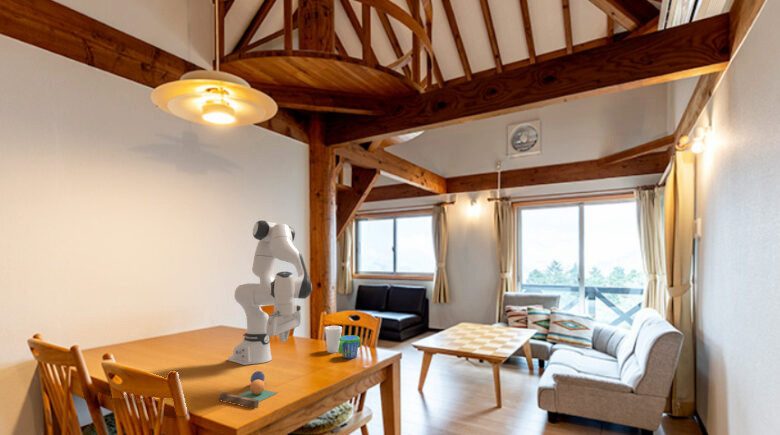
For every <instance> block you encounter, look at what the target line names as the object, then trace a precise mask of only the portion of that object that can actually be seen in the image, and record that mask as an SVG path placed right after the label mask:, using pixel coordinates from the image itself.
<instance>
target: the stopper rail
mask: <svg viewBox="0 0 780 435" xmlns="http://www.w3.org/2000/svg"><path fill="white" fill-rule="evenodd" d="M219 400H222V401H221V402H223V401H226V402H225V403H228V402H231V403H230V404H232V403H236V404H235V405H237V404H240V405H239V406H241V405H243V406H242V407H246V406H247V408H250V407H252V408H251V409H254V408H256V409H258V408H259V402H258V400H256V399H251V398H246V397H242V396H238V394H237V395H236V394H231V393H226V392H220V393H218V401H219ZM257 407H258V408H257Z"/></svg>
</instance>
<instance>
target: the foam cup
mask: <svg viewBox="0 0 780 435" xmlns="http://www.w3.org/2000/svg"><path fill="white" fill-rule="evenodd" d="M324 332H325V341H326V350H327V353H330V354H332V353H333V354H335V353H336V354H337V353H339V352H338V349H339V344H340V337H342V332H343V327H342V326H340V325H330V326H325V327H324Z"/></svg>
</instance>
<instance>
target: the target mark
mask: <svg viewBox="0 0 780 435" xmlns="http://www.w3.org/2000/svg"><path fill="white" fill-rule="evenodd" d="M276 394H278V392H277V391H270V390H265V389H264V391H263V392H262V393H261V394H259V395H254V394H252V393H251V391H250V389H248V390H247V391H245V392H242V393H240V394H237V396H242V397H246V398H251V399H256V400H258V403H260V402H263V401H265V400H266V399H268V398H271V397H272V396H275V395H276Z"/></svg>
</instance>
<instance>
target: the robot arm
mask: <svg viewBox="0 0 780 435" xmlns="http://www.w3.org/2000/svg"><path fill="white" fill-rule="evenodd" d="M252 236H253V238H254V239H255V240H258V243H257V246H256V248H255V252H254V257H253V263H252V267H251V268H252V270H251V271H252V274H254V276H256V277H258V278H259V283H244V284H239V285H238V286H237V287H236V288H235V290H234V299H235V301H236V303H238V304H239V305H240V306H241V308H242V309H243V311H244V313H245V317H246V332H245V333H242V337H244V338H243V340H242V341H241V342H239V344H237V345H235V347H234V349H233V354H232V355H231V356H229V357H228V358H227V361H230V362H233V363H237V364H239V365H243V366H248V365H257V364H263V363H267V362H270V361H271V360H272V359H273V358H272V351H271V346H270V345H271V344H270V339H271V337H275V336H276V335H278V337H279V338H280V343H285V342H287V341H288V340H289V339H288V338H289V335H290V330H293V329H295V328H298V327H300V325H301V322H302V315H301V310H302V306H301V305H298V304H296V302H295V301H296V300H295V299H299V300H300V299H307V298H309V296H310V295H311V294H312V291H313V284H312V282H311V279H310V276H309V274H308V271H307V270H308V269H307V267H306V265H305V261H304V257H303V254H302V252H301V251H300V250H299V249H297V247H295V245H294V240H295V236H296V232H295V229H294V228H293V227H291V226H289V225H288V224H286V223H281V222H280V223H279V222H272V221H267V220H258V221H257V222H256V223H255V224H254V226H253V228H252ZM276 260H278V261H282V262H286V263H288V264H290V265H291V264H292V265H293V266H294V267H295V269H296V272H297V277H296V276H294V273H293V272H290V271H279V272H276V274H275V265H276ZM261 306H273V312H271V313H270V315H269V314H268V313H267V312H265V311H263V309H262V307H261Z"/></svg>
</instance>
